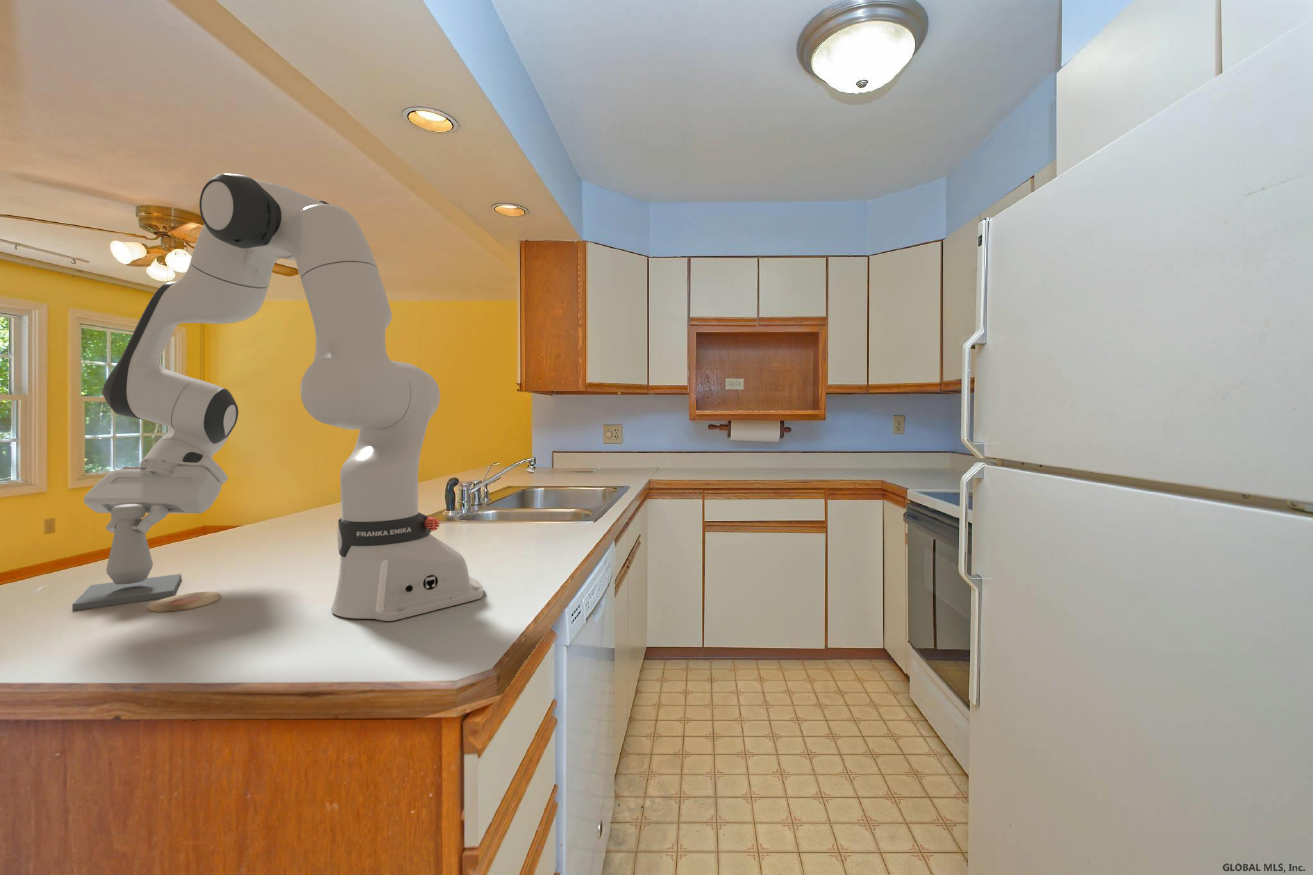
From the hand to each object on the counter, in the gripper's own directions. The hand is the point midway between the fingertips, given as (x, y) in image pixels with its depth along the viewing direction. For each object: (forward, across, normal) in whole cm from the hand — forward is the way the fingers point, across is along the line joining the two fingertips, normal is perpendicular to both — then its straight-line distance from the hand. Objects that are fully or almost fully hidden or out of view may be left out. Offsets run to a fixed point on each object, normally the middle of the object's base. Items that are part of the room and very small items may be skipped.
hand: (125, 531), depth 96 cm
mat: (+7, 0, +8) cm, 11 cm away
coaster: (+10, +13, +5) cm, 17 cm away
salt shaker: (+6, 0, +7) cm, 9 cm away
